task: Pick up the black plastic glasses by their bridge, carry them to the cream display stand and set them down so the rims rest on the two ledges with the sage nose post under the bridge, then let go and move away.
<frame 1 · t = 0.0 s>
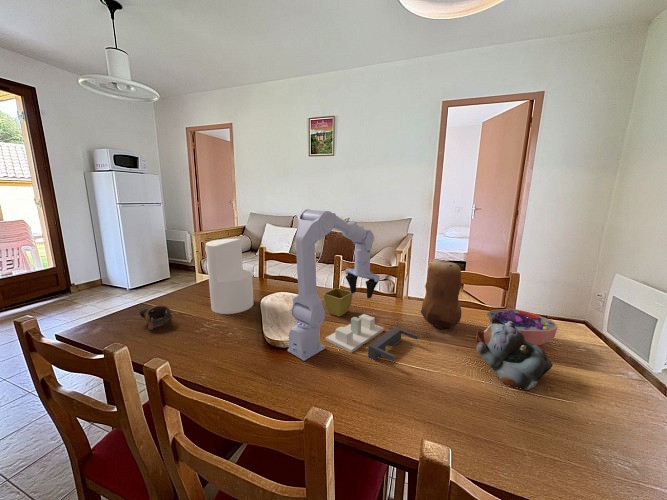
hand: (361, 295, 107), 10 cm above the table, tool pointing down, fingers open, 7 cm apart
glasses: (385, 348, 90), on the table
flower pot: (337, 313, 114), on the table
lucky cat figurine: (508, 373, 78), on the table
butternut squash: (439, 326, 105), on the table
pottery mug: (157, 324, 104), on the table
cell model: (517, 342, 94), on the table
display stand: (355, 335, 97), on the table
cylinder: (233, 305, 121), on the table
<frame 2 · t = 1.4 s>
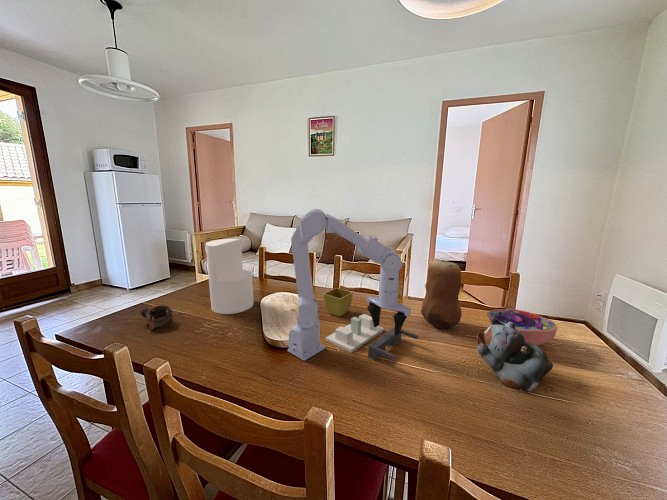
hand: (386, 329, 88), 6 cm above the table, tool pointing down, fingers open, 7 cm apart
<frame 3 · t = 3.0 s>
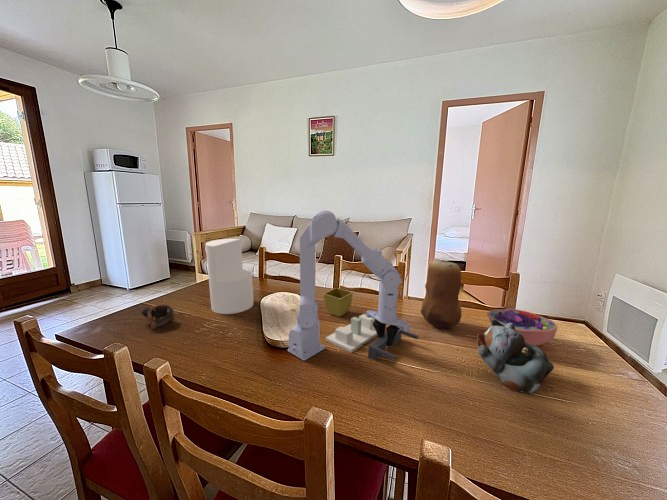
hand: (385, 343, 89), 2 cm above the table, tool pointing down, fingers closed on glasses, 2 cm apart
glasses: (385, 348, 90), on the table, touching gripper
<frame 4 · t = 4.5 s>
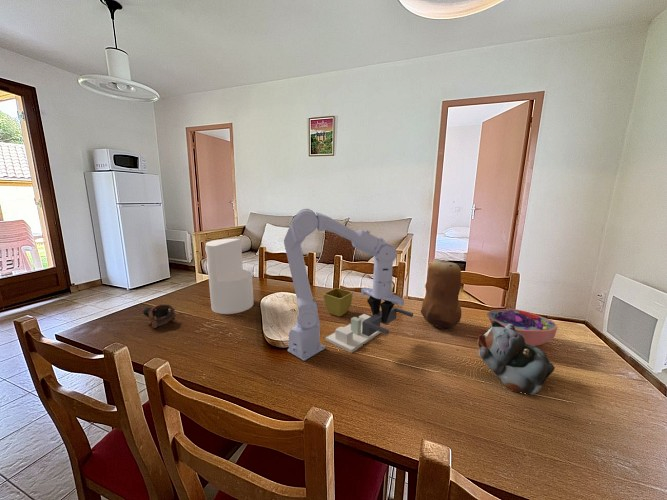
hand: (380, 320, 89), 9 cm above the table, tool pointing down, fingers closed on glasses, 2 cm apart
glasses: (380, 325, 89), point 7 cm above the table, touching gripper
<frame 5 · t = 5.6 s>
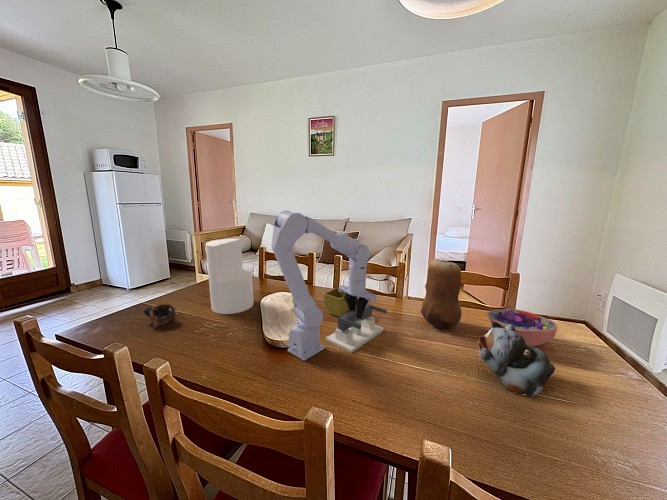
hand: (356, 315, 96), 7 cm above the table, tool pointing down, fingers closed on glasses, 2 cm apart
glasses: (355, 321, 96), point 5 cm above the table, touching gripper
when the fingers open (7 cm above the table, at t = 6.2 s): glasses stays where it is, resting on display stand.
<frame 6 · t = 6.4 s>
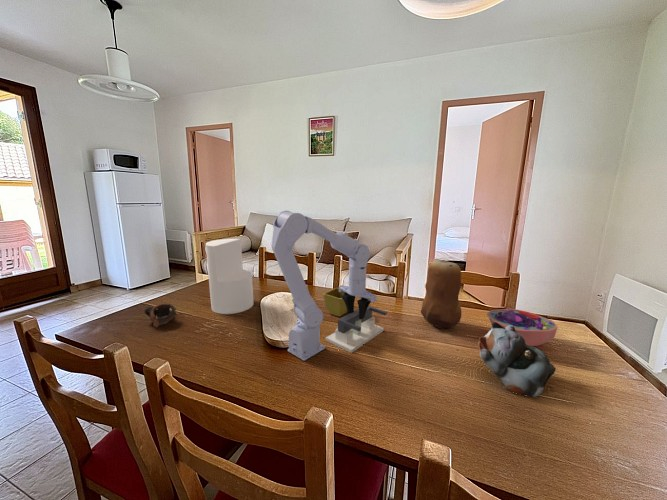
hand: (356, 315, 96), 7 cm above the table, tool pointing down, fingers open, 4 cm apart
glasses: (355, 323, 96), point 4 cm above the table, touching display stand
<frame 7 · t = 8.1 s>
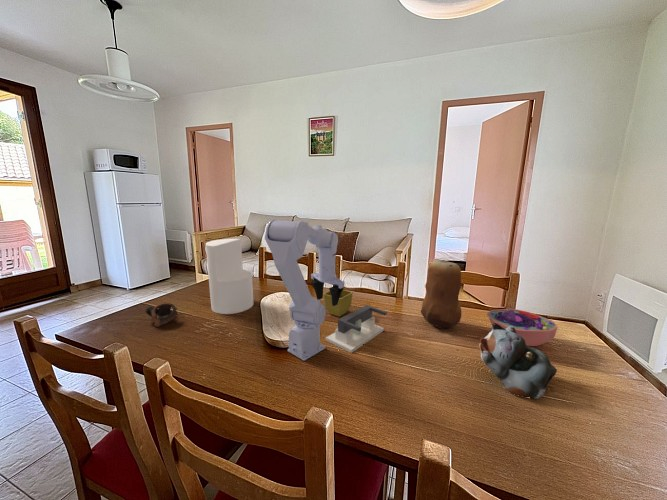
hand: (327, 301, 100), 10 cm above the table, tool pointing down, fingers open, 7 cm apart
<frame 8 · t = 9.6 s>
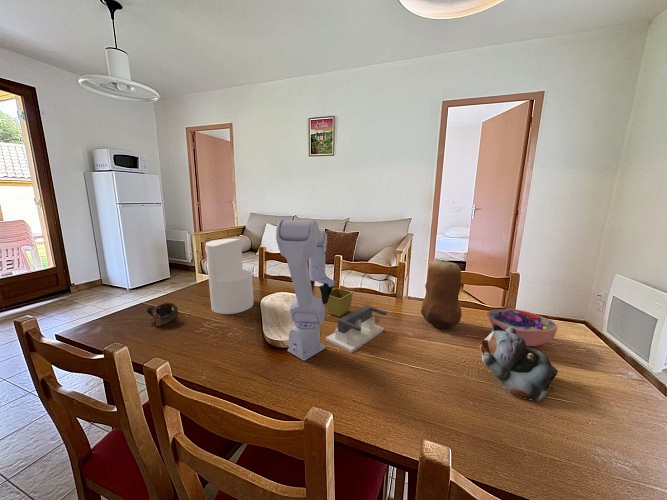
hand: (317, 300, 101), 10 cm above the table, tool pointing down, fingers open, 7 cm apart
at the end: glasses 0.2 cm off-centre on the display stand, point 4.5 cm above the display stand's base; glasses tilted 0°; the gripper is holding nothing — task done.
